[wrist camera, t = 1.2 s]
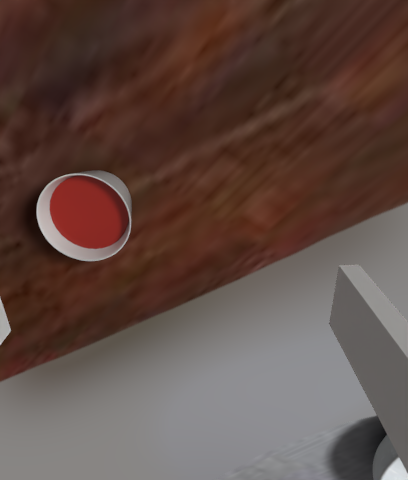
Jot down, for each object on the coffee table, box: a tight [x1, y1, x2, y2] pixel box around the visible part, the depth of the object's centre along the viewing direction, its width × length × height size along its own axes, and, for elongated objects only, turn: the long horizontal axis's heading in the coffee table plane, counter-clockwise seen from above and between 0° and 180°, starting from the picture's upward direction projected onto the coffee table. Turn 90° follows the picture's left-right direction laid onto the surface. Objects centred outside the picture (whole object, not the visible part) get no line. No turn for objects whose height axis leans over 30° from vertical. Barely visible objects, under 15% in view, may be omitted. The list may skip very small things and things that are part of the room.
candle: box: [36, 170, 132, 261], centre depth 36 cm, size 9×9×6 cm
